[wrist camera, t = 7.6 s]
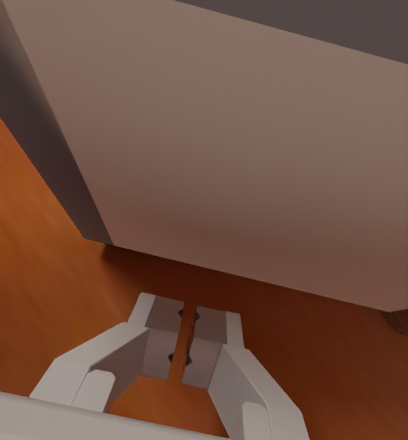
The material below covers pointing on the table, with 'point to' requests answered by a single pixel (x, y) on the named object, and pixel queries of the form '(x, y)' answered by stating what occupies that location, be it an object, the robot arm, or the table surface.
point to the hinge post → (398, 320)
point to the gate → (224, 132)
